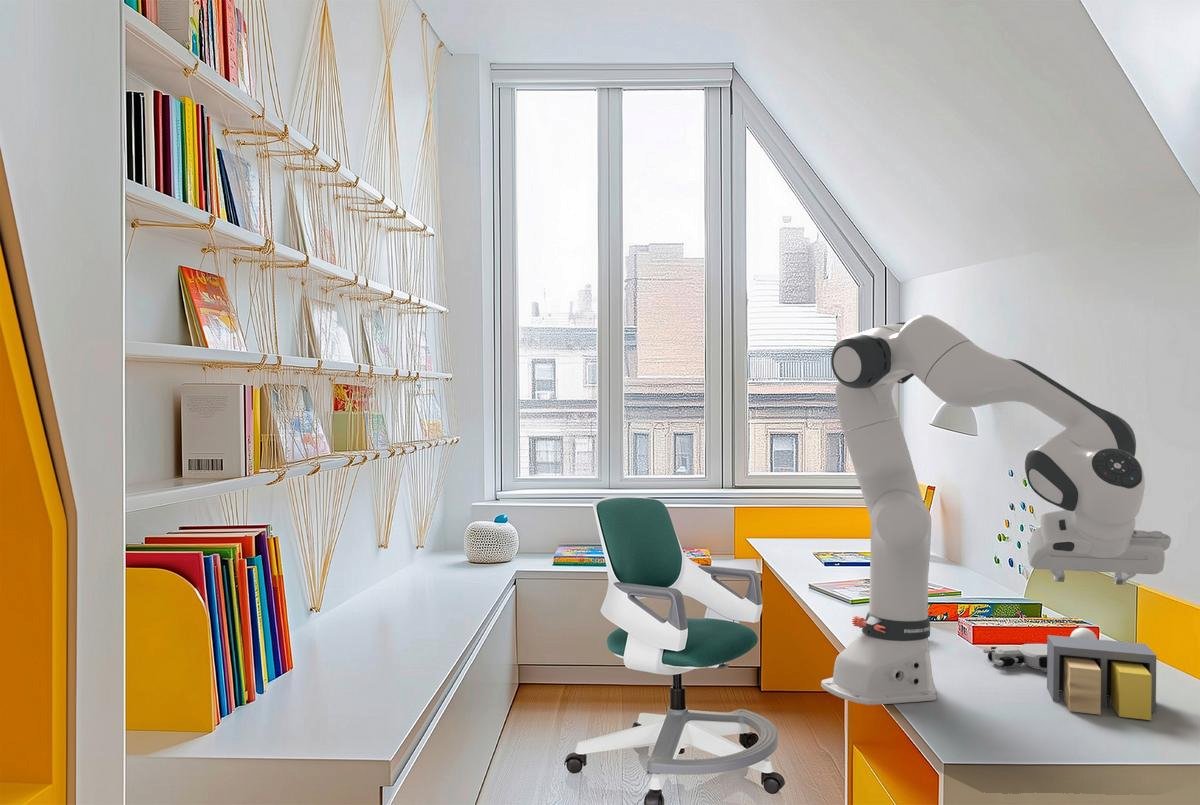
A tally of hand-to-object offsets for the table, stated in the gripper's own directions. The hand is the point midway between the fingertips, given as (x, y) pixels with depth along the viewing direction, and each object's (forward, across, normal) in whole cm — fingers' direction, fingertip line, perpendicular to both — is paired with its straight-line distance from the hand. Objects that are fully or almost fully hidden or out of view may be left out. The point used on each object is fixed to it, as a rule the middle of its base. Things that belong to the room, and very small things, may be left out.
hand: (1088, 580), depth 157 cm
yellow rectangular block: (+27, -9, +9) cm, 30 cm away
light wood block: (+27, -1, +9) cm, 28 cm away
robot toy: (+46, +5, -9) cm, 47 cm away
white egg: (+59, -11, -22) cm, 64 cm away
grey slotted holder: (+31, -5, +5) cm, 32 cm away
